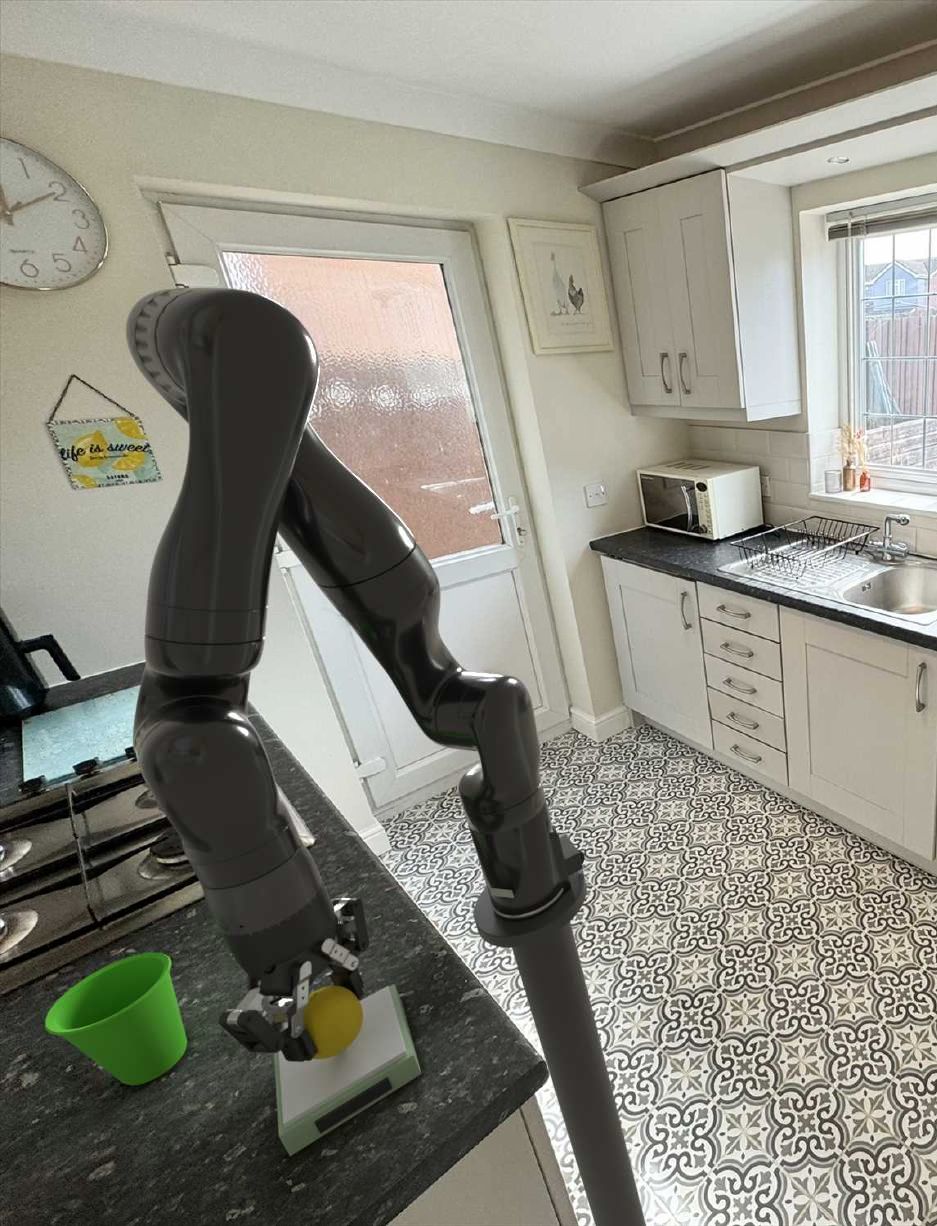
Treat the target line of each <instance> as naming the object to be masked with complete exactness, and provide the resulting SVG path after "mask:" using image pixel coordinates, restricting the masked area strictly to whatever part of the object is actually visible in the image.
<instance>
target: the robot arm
mask: <svg viewBox="0 0 937 1226" xmlns="http://www.w3.org/2000/svg"><path fill="white" fill-rule="evenodd" d="M125 336H126V337H125V338H126V344H127V348H128V350H129V353H130V355H131V357H132V359H133V361H134V363H135V365H136V367H137V369H138V371H139V372H140V373H141V375H142V376H143V377H144V378H145V380H146V381H147V382H148V383H149V384H150V385H151V386H152V388H153V389H154V390H155V391H156V392H157V393H158V394H159V395H160V396H161V397H162V398H163V399H164V400H165V401H166V402H167V403H168V405H170V407H171V408H172V409H173V410H174V411H175V412H176V413H177V414H178V415H179V416H180V417H181V418H182V419H183V420H184V421H185V422H186V423H187V424H188V432H189V434H188V437H189V439H188V453H187V461H186V466H185V471H184V476H183V480H182V484H181V489H180V491H179V494H178V496H177V499H176V501H175V504H174V507H173V509H172V511H171V514H170V516H169V519H168V521H167V523H166V525H165V528H164V531H163V532H162V535H161V537H160V539H159V542H158V545H157V547H156V551H155V553H154V557H153V560H152V563H151V568H150V573H149V577H148V578H149V579H148V587H147V594H146V595H147V596H146V598H147V599H146V609H145V623H144V633H145V634H144V641H143V642H144V644H143V645H144V655H145V656H144V658H145V665H144V669H143V672H142V677H141V681H140V686H139V691H138V695H137V700H136V705H135V710H134V718H133V728H132V730H133V731H132V746H133V751H134V754H135V758H136V760H137V763H138V767H139V770H140V773H141V775H142V778H143V780H144V782H145V784H146V785H147V787H148V789H149V791H150V793H151V794H152V796H153V798H154V799H155V801H156V802H157V804H158V806H159V808H160V809H161V811H162V812H163V814H164V815H165V817H166V819H167V820H168V822H169V823H170V824H171V826H172V827H173V829H174V830H175V831H176V832H177V834H178V835H179V840H180V843H181V847H182V849H183V852H184V854H185V856H186V859H187V861H188V863H189V865H190V866H191V869H192V870H193V872H194V874H195V876H196V878H197V880H198V882H199V884H200V886H201V888H202V889H201V890H202V892H203V895H204V901H205V904H206V906H207V908H208V910H209V913H210V914H211V917H213V920H214V922H215V924H216V926H217V927H218V930H219V931H220V934H221V936H222V938H223V940H224V941H225V944H226V945H227V947H228V950H229V951H230V953H231V955H232V957H233V958H234V960H235V962H236V963H237V965H238V966H239V967H241V969H242V970H243V971H244V972H245V973H246V974H247V991H248V992H247V993H246V995H245V996H244V998H242V1000H241V1001H240V1002H239V1004H238V1005H237V1006H236V1007H235V1008H227V1009H225V1010H223V1012H222V1013H221V1014H220V1016H219V1017H218V1024H219V1026H221V1028H222V1029H224V1030H225V1031H226V1032H227V1033H228V1034H229V1035H230V1036H232V1037H233V1039H235V1040H236V1041H237V1042H238V1043H239V1044H240V1045H242V1047H244V1048H245V1050H247V1051H248V1052H249V1053H266V1054H267V1053H269V1054H274V1053H277V1052H279V1051H280V1050H281V1052H282V1054H283V1055H284V1057H285V1059H286V1060H287V1061H290V1062H304V1061H311V1060H312V1059H313V1058H314V1056H315V1055H316V1054H317V1052H318V1051H317V1049H316V1047H315V1044H314V1042H313V1040H312V1038H311V1036H310V1034H309V1032H308V1030H307V1028H306V1027H304V1008H306V1007H307V1006H308V1004H309V995H310V987H311V986H312V985H313V983H314V982H315V980H316V978H317V977H318V976H319V975H321V974H322V973H323V972H325V970H326V969H327V970H329V971H331V973H330V974H329V978H330V980H331V983H332V984H333V985H332V986H342V987H344V988H346V989H349V990H350V991H351V992H352V993H354V995H355V996H356V997H357V999H358V1000H359V1001H361V999H362V997H363V996H364V995H365V992H364V990H363V988H364V980H363V978H362V976H361V974H360V973H361V972H360V971H359V968H358V966H359V963H360V959H359V956H360V954H361V952H365V951H366V950H367V949H368V948H369V947H370V938H369V933H368V932H369V931H368V927H367V922H366V917H365V913H364V907H363V901H362V899H361V898H354V897H343V898H342V897H336V898H334V900H333V901H332V899H331V897H330V895H329V892H328V890H327V888H326V885H325V883H324V881H323V879H322V876H321V874H320V871H319V869H318V866H317V864H316V861H315V860H314V858H313V856H312V854H311V852H310V851H309V849H308V848H307V846H306V845H305V844H304V842H303V840H302V839H301V837H300V834H299V832H298V829H297V827H296V825H295V822H294V820H293V817H292V815H291V813H290V811H289V808H288V807H287V805H286V803H285V802H284V800H283V799H282V798H281V796H280V795H279V789H278V786H277V782H276V778H275V775H274V771H273V768H272V765H271V762H270V758H269V756H268V753H267V750H266V748H265V746H264V743H263V740H262V739H261V736H260V734H259V733H258V731H257V730H256V728H255V727H254V725H253V724H252V722H251V721H250V720H249V717H248V702H249V701H248V700H249V691H250V681H251V673H252V671H254V669H256V667H258V665H259V664H260V662H261V659H262V657H263V654H264V653H263V652H264V648H265V643H266V633H267V632H266V631H267V621H268V620H267V619H268V610H269V609H268V608H269V600H270V599H269V598H270V587H271V576H272V568H273V562H274V561H273V560H274V553H275V549H276V542H277V541H276V540H277V535H278V534H279V536H280V537H281V538H282V540H283V541H284V542H285V544H286V545H287V547H288V548H289V549H290V550H291V551H292V553H293V554H294V555H295V557H296V559H298V561H299V562H300V564H301V565H302V566H303V568H304V569H305V571H306V572H307V573H308V575H309V576H310V578H311V579H312V580H313V582H314V583H315V584H316V586H317V587H318V589H320V591H321V592H322V593H323V595H324V596H325V597H326V598H327V599H328V601H329V602H330V604H331V605H332V606H333V608H335V610H336V611H337V612H338V613H339V615H341V617H342V618H343V619H344V620H345V621H346V623H348V625H349V626H350V627H351V628H352V629H353V631H354V632H355V633H356V635H357V636H358V638H359V639H360V640H361V641H362V643H363V644H364V645H365V648H367V650H368V651H369V652H370V654H371V655H372V656H373V658H374V659H375V660H376V661H377V663H378V664H379V665H380V666H381V668H382V669H383V670H384V671H385V673H386V674H387V677H388V678H389V679H390V681H391V682H392V684H393V686H394V687H395V689H396V690H397V692H398V694H399V696H400V697H401V699H402V701H403V702H404V705H405V706H406V708H407V709H408V711H409V713H410V714H411V716H412V718H413V720H414V721H415V723H416V725H417V726H418V727H419V729H420V730H421V732H422V733H423V734H424V735H425V737H427V738H428V740H430V741H431V742H432V743H434V744H436V745H438V746H441V747H444V748H449V749H454V750H463V751H469V752H477V753H478V757H479V761H478V762H477V763H475V764H474V765H472V766H471V767H470V768H469V769H468V768H467V770H466V771H465V772H464V773H463V774H462V775H461V777H460V778H459V781H458V784H457V793H458V797H459V801H460V803H461V806H462V810H463V813H464V816H465V820H466V823H467V826H468V829H469V833H470V836H471V839H472V843H473V846H474V849H475V852H476V855H477V859H478V862H479V865H480V870H481V872H482V876H483V878H484V881H485V885H486V886H487V888H488V892H489V895H490V900H491V904H492V908H493V911H494V913H495V914H496V916H498V917H499V918H501V919H503V920H506V921H523V920H527V919H531V918H533V917H536V916H538V915H540V914H542V913H544V912H546V911H547V910H549V909H550V908H551V907H553V906H554V905H555V904H556V903H557V902H558V901H559V900H560V899H561V897H562V896H563V894H564V893H565V892H566V891H568V890H570V889H571V888H572V887H571V883H570V878H569V876H570V875H572V874H574V873H576V872H578V871H579V870H581V869H582V870H583V869H584V867H583V864H584V862H585V859H586V856H585V853H584V851H582V850H581V849H578V848H577V847H576V846H575V844H574V843H573V842H572V840H571V839H570V837H569V836H568V835H567V834H564V835H561V836H560V834H559V832H558V830H557V829H556V828H555V826H554V825H553V822H552V819H551V813H550V810H549V806H548V801H547V798H546V794H545V791H544V786H543V782H542V777H541V773H540V772H541V771H540V766H541V755H542V754H541V745H540V739H539V734H538V728H537V722H536V716H535V710H534V705H533V700H532V697H531V695H530V692H529V690H528V688H527V687H526V685H525V684H524V683H523V681H522V680H521V679H520V678H518V677H515V676H513V675H507V674H498V673H497V674H496V673H486V672H476V671H475V672H473V671H469V670H466V669H465V668H464V667H463V666H462V665H461V664H460V663H459V662H458V661H457V660H456V659H455V657H454V656H453V654H452V653H451V651H450V650H449V649H448V647H447V646H446V644H445V642H444V641H443V639H442V637H441V633H440V629H439V622H440V614H441V613H440V612H441V593H442V592H441V583H440V581H439V578H438V575H437V573H436V571H435V569H434V567H433V566H432V564H431V562H430V560H429V559H428V557H427V556H426V554H425V552H424V551H423V549H422V548H421V546H420V544H419V543H418V541H417V540H416V538H415V537H414V535H413V534H412V532H411V530H410V529H409V528H408V527H407V525H406V524H405V522H404V521H403V520H402V519H401V517H399V515H397V514H396V512H394V511H393V510H392V508H391V507H390V506H389V505H388V504H386V503H385V501H384V500H383V499H382V498H381V497H380V496H378V494H376V493H375V492H374V491H373V490H372V488H370V487H369V486H368V485H367V484H366V483H364V482H363V481H362V480H361V479H360V477H358V476H356V475H355V474H354V473H353V472H352V470H350V469H349V468H348V467H347V466H346V465H345V464H344V463H343V462H341V461H340V460H339V459H338V458H337V456H336V455H335V454H333V452H332V451H331V450H330V449H329V448H328V446H327V445H326V444H325V442H324V441H323V440H322V439H321V438H320V436H319V435H318V433H317V432H316V431H315V429H314V428H313V427H312V425H311V423H310V422H309V417H310V414H311V410H312V406H313V403H314V399H315V396H316V392H317V389H318V384H319V377H320V357H319V353H318V350H317V347H316V344H315V341H314V340H313V338H312V335H311V334H310V333H309V331H308V329H307V328H306V327H305V326H304V324H303V323H302V321H300V319H299V318H297V316H296V315H294V314H293V313H292V312H291V311H290V310H289V309H288V308H286V307H285V306H283V305H281V304H280V303H279V302H277V301H276V300H274V299H271V298H270V297H267V296H265V295H262V294H260V293H256V292H252V291H249V290H246V289H245V290H244V289H238V288H229V287H228V288H227V287H180V288H179V287H176V288H166V289H165V288H164V289H159V290H157V291H153V292H150V293H149V294H146V295H144V296H142V298H140V299H139V300H138V301H136V302H135V304H133V306H132V308H131V309H130V311H129V313H128V316H127V319H126V323H125ZM352 935H353V938H352ZM336 940H337V941H336ZM283 997H286V998H283ZM287 997H288V998H287ZM289 997H291V998H289ZM262 1003H263V1005H262ZM266 1016H267V1019H266V1018H265V1017H266ZM285 1016H286V1017H287V1021H286V1022H285Z"/></svg>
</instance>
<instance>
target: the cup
mask: <svg viewBox="0 0 937 1226" xmlns="http://www.w3.org/2000/svg"><path fill="white" fill-rule="evenodd" d="M172 963H173V962H172V960H171V958H170V956H168V955H167V954H165V953H161V952H156V951H154V952H143V953H138V954H135V955H130V956H128V957H124V958H122V959H119V960H117V961H115V962H112V963H111V964H110V963H109V964H108V965H106V966H104V967H101V968H100V969H99V970H96V971H95V972H93V973H91V974H89V975H88V976H86V977H85V978H84V979H82V980H80V981H79V982H77V983H76V984H75V985H74V986H72V987H71V988H70V989H68V990H67V991H66V992H65V993H64V994H62V995H61V997H60V998H58V1000H57V1001H56V1002H54V1004H53V1005H52V1006H51V1008H50V1009H49V1011H48V1012H47V1014H46V1018H45V1019H44V1030H46V1031H47V1033H49V1034H50V1035H55V1036H61V1037H62V1038H64V1039H65V1040H67V1041H68V1042H69V1043H70V1044H71V1045H73V1046H74V1047H75V1048H76V1049H78V1050H79V1051H80V1052H81V1053H83V1054H85V1055H86V1056H87V1057H88V1058H90V1059H91V1060H92V1061H93V1062H95V1063H96V1064H97V1065H99V1066H100V1067H101V1068H103V1069H104V1070H105V1071H106V1072H108V1073H109V1074H110V1075H111V1076H113V1077H114V1078H116V1079H117V1080H118V1081H119V1082H120V1083H122V1084H124V1085H128V1086H139V1085H143V1084H146V1083H149V1082H150V1081H153V1080H155V1079H157V1078H159V1077H160V1076H162V1075H163V1074H165V1073H166V1072H168V1071H169V1070H170V1069H172V1067H174V1066H175V1065H176V1064H177V1063H178V1062H179V1061H180V1060H181V1058H182V1057H183V1055H184V1054H185V1052H186V1050H187V1044H188V1039H187V1036H186V1031H185V1027H184V1024H183V1019H182V1015H181V1012H180V1008H179V1003H178V1000H177V997H176V992H175V989H174V985H173V982H172V977H171V973H170V971H171V968H172Z"/></svg>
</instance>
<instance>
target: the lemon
mask: <svg viewBox="0 0 937 1226" xmlns="http://www.w3.org/2000/svg"><path fill="white" fill-rule="evenodd" d="M359 1001H360V1000H358V999H357V997H356V996H355V995H354V993H352V992H351V991H350V990H349V989H346V988H344V987H342V986H334V985H328V986H323V987H321V988H319V989H316V990H314V991H313V992H311V993H309V1004H308V1006H307V1007H306V1008H304V1027H306V1028H307V1030H308V1032H309V1034H310V1036H311V1038H312V1040H313V1042H314V1044H315V1047H316V1049H317V1051H318V1052H317V1054H316V1055H315V1056H314V1058H313V1059H326V1058H330V1057H333V1056H335V1055H337V1054H339V1053H341V1052H342V1051H344V1050H345V1049H346V1048H348V1047H349V1046H350V1045H351V1044H352V1042H353V1041H354V1040H355V1038H356V1037H357V1035H358V1033H359V1031H360V1029H361V1026H362V1022H363V1012H362V1006H361V1004H360V1002H359Z"/></svg>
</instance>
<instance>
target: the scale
mask: <svg viewBox="0 0 937 1226" xmlns="http://www.w3.org/2000/svg"><path fill="white" fill-rule="evenodd" d="M359 1002H360V1004H361V1006H362V1012H363V1022H362V1026H361V1029H360V1031H359V1033H358V1035H357V1037H356V1038H355V1040H354V1041H353V1042H352V1044H351V1045H350V1046H349V1047H348V1048H346V1049H345V1050H344V1051H342V1052H341V1053H339V1054H337V1055H335V1056H333V1057H330V1058H326V1059H312V1060H311V1061H304V1062H290V1061H287V1060H286V1059H285V1057H284V1055H283V1054H282V1052H281V1050H280V1051H279V1052H277V1053H273V1062H274V1078H275V1079H274V1080H275V1094H276V1096H275V1097H276V1108H277V1109H276V1111H277V1112H276V1114H277V1128H278V1137H279V1139H280V1142H281V1144H282V1145H283V1146H284V1148H285V1150H286V1152H287V1153H288V1155H289V1157H292V1156H293V1155H295V1154H296V1153H298V1152H299V1151H301V1150H303V1149H305V1148H306V1147H308V1146H309V1145H311V1144H312V1143H314V1142H316V1141H317V1140H318V1139H321V1138H322V1137H323V1136H325V1135H327V1134H328V1133H330V1132H332V1131H333V1130H335V1129H336V1128H338V1127H340V1126H342V1125H343V1124H344V1123H346V1122H347V1121H349V1120H351V1119H352V1118H354V1117H356V1116H357V1115H359V1114H360V1113H361V1112H363V1111H365V1110H367V1109H368V1108H370V1107H371V1106H373V1105H375V1104H377V1102H380V1101H381V1100H383V1099H384V1098H385V1097H388V1096H389V1095H390V1094H392V1093H394V1092H395V1091H397V1090H398V1089H400V1088H401V1087H403V1086H405V1085H406V1084H408V1083H410V1082H411V1081H413V1080H414V1079H416V1078H418V1077H419V1076H420V1075H422V1071H421V1066H420V1063H419V1060H418V1059H419V1058H418V1056H417V1051H416V1049H415V1045H414V1041H413V1038H412V1034H411V1030H410V1027H409V1023H408V1018H407V1016H406V1012H405V1008H404V1004H403V1002H402V999H401V997H400V994H399V991H398V989H397V986H396V984H395V983H393V984H391V985H387V986H385V987H383V988H382V989H380V990H378V991H375V992H374V993H372V994H370V995H368V996H367V997H364V998H363V999H360V1000H359Z"/></svg>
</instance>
